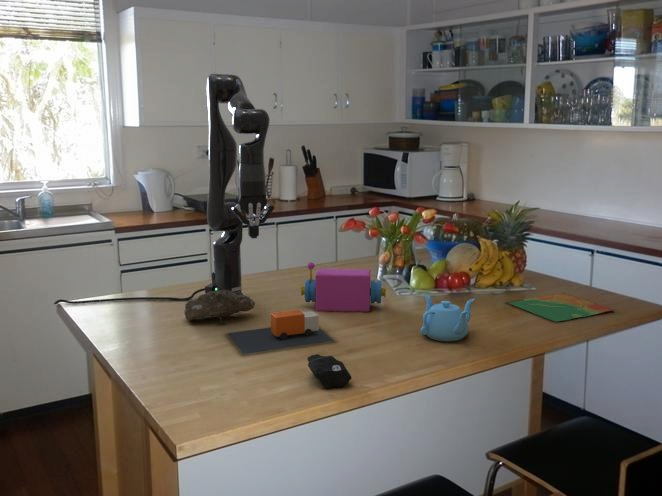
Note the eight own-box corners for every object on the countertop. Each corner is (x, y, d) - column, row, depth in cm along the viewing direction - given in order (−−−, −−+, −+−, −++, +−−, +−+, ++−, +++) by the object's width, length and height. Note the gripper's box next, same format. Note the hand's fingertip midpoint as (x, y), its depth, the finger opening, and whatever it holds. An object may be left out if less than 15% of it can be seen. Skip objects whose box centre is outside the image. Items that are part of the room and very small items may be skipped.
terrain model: (563, 294, 233) (563, 292, 233) (614, 311, 213) (615, 309, 213) (507, 302, 223) (507, 301, 222) (555, 321, 203) (555, 319, 202)
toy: (385, 304, 221) (386, 260, 218) (385, 312, 212) (386, 267, 210) (303, 302, 223) (302, 259, 220) (299, 310, 214) (299, 265, 212)
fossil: (252, 297, 214) (254, 278, 201) (258, 325, 210) (260, 307, 197) (183, 310, 209) (180, 291, 196) (188, 338, 205) (186, 321, 192)
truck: (276, 317, 184) (319, 312, 189) (270, 312, 189) (312, 307, 194) (276, 340, 185) (319, 334, 190) (270, 334, 190) (312, 329, 195)
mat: (243, 355, 175) (243, 353, 175) (227, 334, 192) (227, 333, 192) (334, 342, 185) (334, 340, 185) (311, 323, 202) (311, 322, 202)
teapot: (414, 341, 186) (415, 306, 184) (424, 324, 200) (425, 292, 198) (467, 346, 182) (468, 311, 180) (473, 329, 196) (475, 296, 194)
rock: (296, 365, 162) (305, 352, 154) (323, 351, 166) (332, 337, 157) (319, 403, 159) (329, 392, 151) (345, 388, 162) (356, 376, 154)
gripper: (270, 177, 197) (271, 234, 201) (226, 178, 192) (228, 237, 196) (278, 179, 191) (279, 238, 194) (233, 181, 186) (234, 241, 189)
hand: (253, 237), depth 195 cm, fingers closed
